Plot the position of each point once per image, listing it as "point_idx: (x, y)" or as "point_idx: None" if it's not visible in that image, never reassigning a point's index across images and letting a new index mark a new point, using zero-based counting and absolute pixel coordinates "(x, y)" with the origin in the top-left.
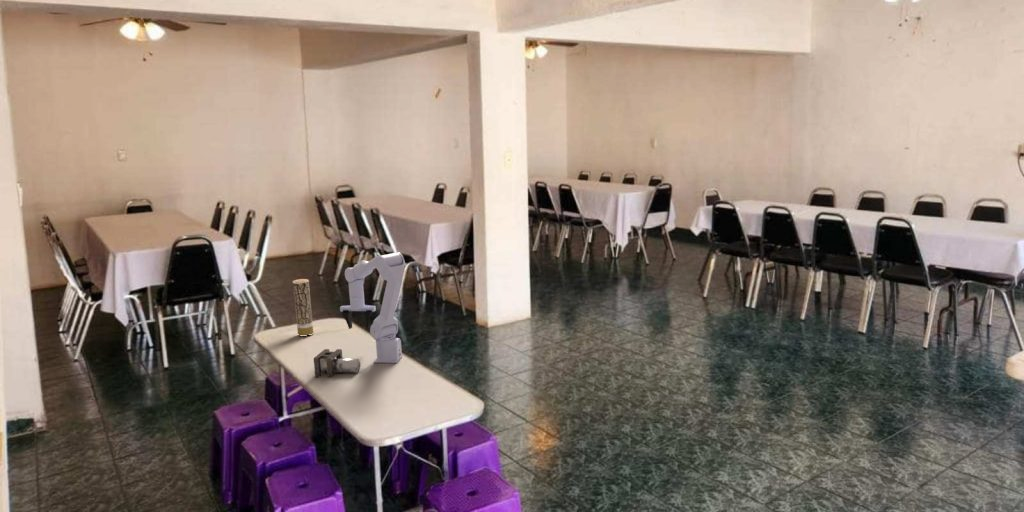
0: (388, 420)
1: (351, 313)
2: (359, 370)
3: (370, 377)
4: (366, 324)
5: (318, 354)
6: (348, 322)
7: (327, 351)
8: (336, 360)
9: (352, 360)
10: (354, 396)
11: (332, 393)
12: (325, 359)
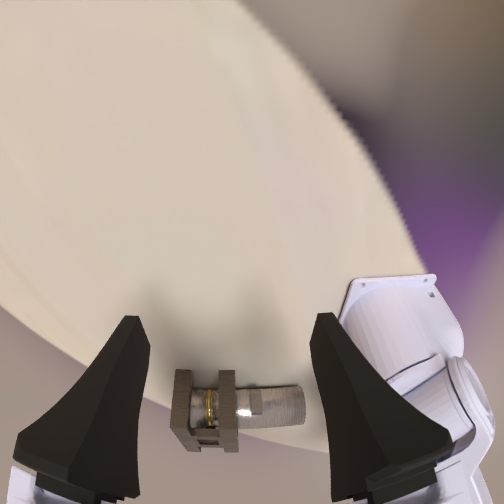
0: None
1: (88, 441)
2: (299, 386)
3: None
4: (319, 386)
5: (182, 443)
6: (135, 406)
7: (190, 431)
8: (239, 428)
9: (289, 425)
10: (314, 432)
11: (271, 433)
12: (201, 428)
